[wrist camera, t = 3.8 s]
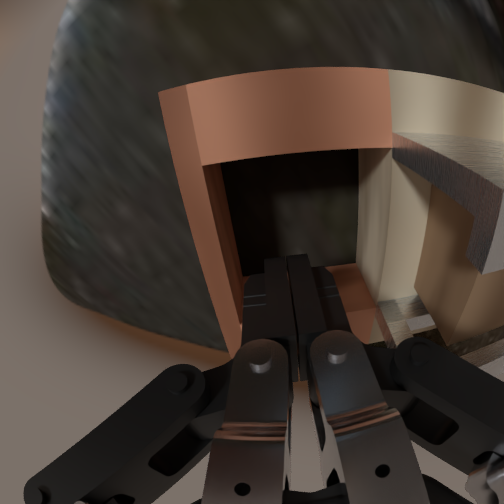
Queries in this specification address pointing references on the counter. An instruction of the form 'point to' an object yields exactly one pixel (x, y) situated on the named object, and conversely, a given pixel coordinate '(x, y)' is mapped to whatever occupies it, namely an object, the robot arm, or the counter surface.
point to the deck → (317, 139)
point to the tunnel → (472, 199)
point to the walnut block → (456, 275)
